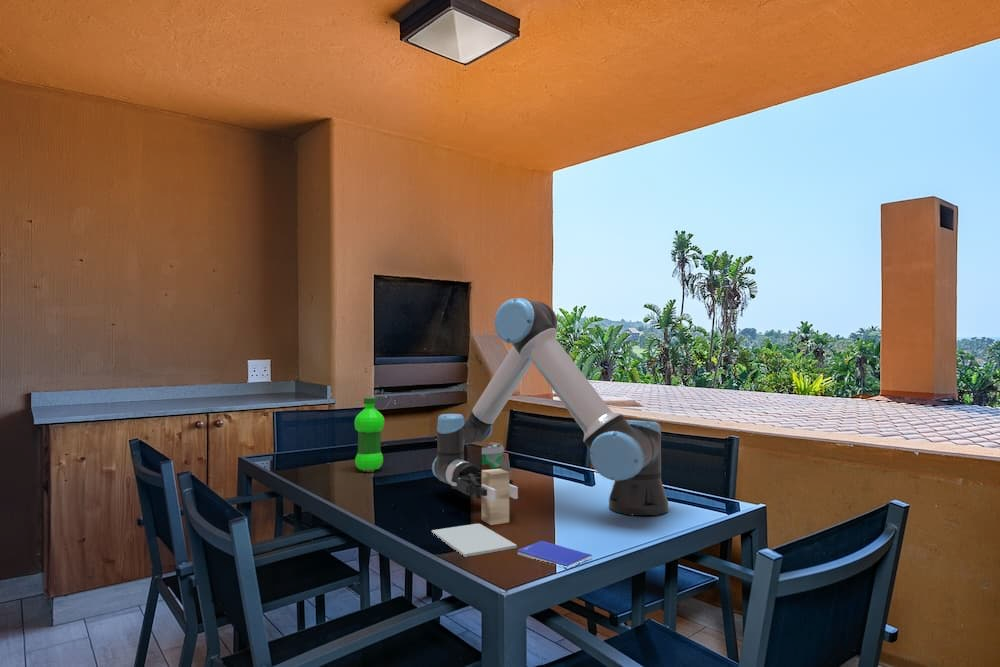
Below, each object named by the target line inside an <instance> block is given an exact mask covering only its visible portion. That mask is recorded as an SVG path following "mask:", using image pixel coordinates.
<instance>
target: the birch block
mask: <svg viewBox="0 0 1000 667" xmlns="http://www.w3.org/2000/svg"><path fill="white" fill-rule="evenodd" d="M481 471H482V484H484V485H487V486H489V487H491V488H494V489H496V502H493V501H491V500H489V499H487V498H485V497H483V496H481V510H480V511H481V521H483V522H484V523H486V524H488V525H490V526H494V525H500V524H507V523H510V497H509V479H510V471H507V470H504V469H502V468H501V469H491V470H481Z"/></svg>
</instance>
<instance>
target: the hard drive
mask: <svg viewBox="0 0 1000 667" xmlns="http://www.w3.org/2000/svg"><path fill="white" fill-rule="evenodd" d="M517 555H518V556H521V557H525V558H527V559H532V560H534V559H536V560H535V561H537V560H540V561H539V562H541V561H544V562H549V563H554V564H559V565H563V566H567V567H568V566H570V565H573V564H575V563H577V562H579V561H582V560H585V559H587V558H589V557H593V555H592V554H590V553H587V552H582V551H579V550H577V549H572V548H569V547H565V546H562V545H559V544H555V543H551V542H548V541H545V540H544V541H543V540H539V541H538V542H535V543H533V544H529V545H526V546H524V547H521V548H519V549H518V550H517ZM544 562H543V563H544Z"/></svg>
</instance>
